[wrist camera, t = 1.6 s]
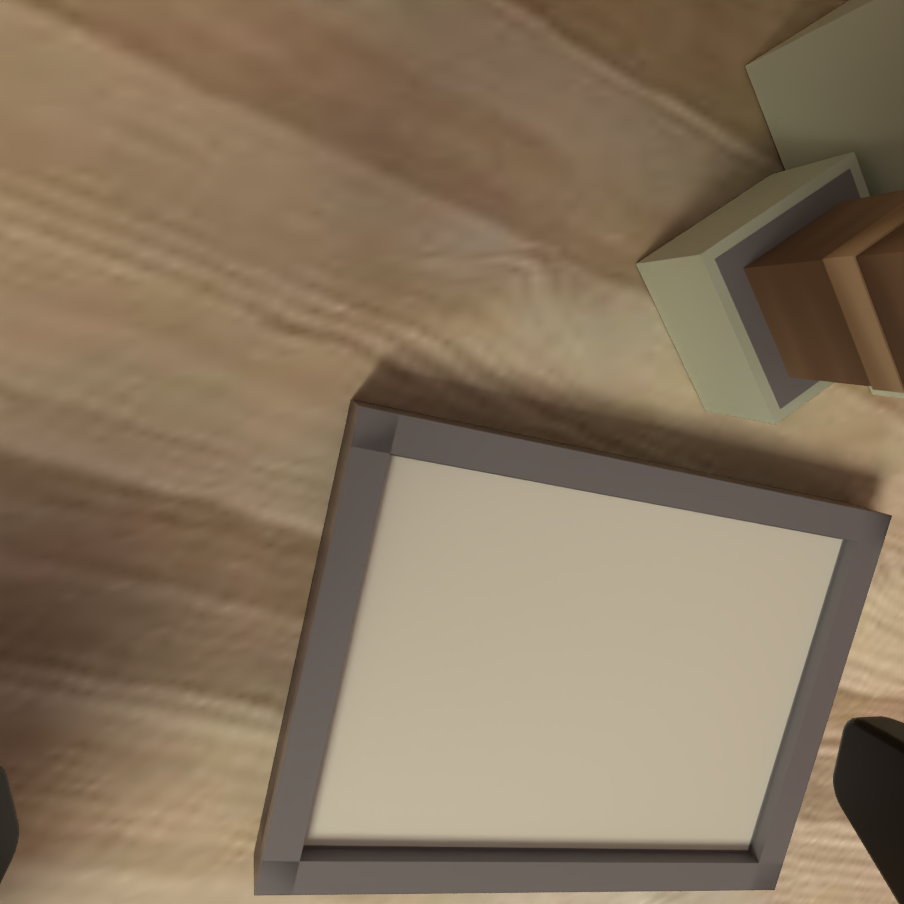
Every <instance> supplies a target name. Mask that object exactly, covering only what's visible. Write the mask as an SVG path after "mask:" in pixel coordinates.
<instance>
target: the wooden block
mask: <svg viewBox="0 0 904 904" xmlns="http://www.w3.org/2000/svg"><path fill="white" fill-rule="evenodd" d="M743 269H744V271H745V273H746V276H747V278H748V280H749V283H750V285H751V288H752V290H753V292H754V295H755V297H756V299H757V302H758V304H759V306H760V309H761V311H762V313H763V316H764V318H765V320H766V323H767V325H768V328H769V330H770V332H771V335H772V337H773V339H774V342H775V344H776V346H777V349H778V351H779V353H780V356H781V358H782V360H783V363H784V365H785V368H786V370H787V372H788V375H789V377H790V378H800V379H809V380H818V381H827V382H837V383H846V384H855V385H865V386H871V387H872V389H873V390H881V391H890V392H899V393H904V190H900V191H895V192H890V193H885V194H880V195H875V196H870V197H865V198H860V199H855V200H850V201H845V202H840V203H839V204H837V205H836V206H834V207H833V208H831V209H830V210H828V211H827V212H825V213H824V214H822V215H821V216H819V217H818V218H816V219H815V220H814V221H812V222H811V223H809V224H808V225H806V226H805V227H803V228H802V229H800V230H799V231H797V232H796V233H794V234H793V235H791V236H790V237H789V238H787V239H786V240H784V241H783V242H781V243H780V244H778V245H777V246H775V247H774V248H772V249H771V250H769V251H768V252H766V253H765V254H764V255H762V256H761V257H759V258H758V259H756V260H755V261H753V262H752V263H750V264H749V265H747V266H746V267H744V268H743Z"/></svg>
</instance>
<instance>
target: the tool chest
mask: <svg viewBox="0 0 904 904" xmlns="http://www.w3.org/2000/svg"><path fill="white" fill-rule="evenodd" d="M745 68H746V70H747V73H748V75H749V78H750V81H751V83H752V86H753V88H754V91H755V93H756V96H757V99H758V101H759V104H760V106H761V109H762V112H763V114H764V117H765V119H766V122H767V125H768V127H769V130H770V132H771V135H772V137H773V140H774V143H775V145H776V148H777V150H778V153H779V156H780V158H781V161H782V163H783V166H784V168H785V171H782V172H778V173H775V174H771V175H769V176H768V177H766V178H765V179H763V180H762V181H760V182H759V183H757V184H756V185H754V186H753V187H751V188H750V189H748V190H747V191H745V192H744V193H742V194H741V195H739V196H738V197H736V198H735V199H733V200H732V201H730V202H728V203H727V204H725V205H724V206H722V207H721V208H719V209H718V210H716V211H715V212H713V213H712V214H710V215H709V216H707V217H706V218H704V219H703V220H701V221H700V222H698V223H697V224H695V225H694V226H692V227H691V228H689V229H688V230H686V231H685V232H683V233H682V234H680V235H679V236H677V237H676V238H674V239H673V240H671V241H670V242H668V243H667V244H665V245H664V246H662V247H660V248H659V249H657V250H656V251H654V252H653V253H651V254H650V255H648V256H647V257H645V258H644V259H642V260H641V261H639V262H638V263H636V265H637V267H638V270H639V272H640V274H641V276H642V278H643V280H644V282H645V284H646V286H647V289H648V291H649V293H650V295H651V297H652V299H653V301H654V303H655V305H656V307H657V310H658V312H659V314H660V316H661V318H662V320H663V322H664V324H665V326H666V329H667V331H668V333H669V335H670V337H671V339H672V341H673V343H674V345H675V347H676V350H677V352H678V354H679V356H680V358H681V360H682V362H683V364H684V366H685V369H686V371H687V373H688V375H689V377H690V379H691V381H692V383H693V385H694V387H695V390H696V392H697V394H698V396H699V398H700V400H701V402H702V404H703V406H704V408H705V411H710V412H715V413H720V414H725V415H730V416H735V417H740V418H744V419H749V420H754V421H759V422H764V423H769V424H774V425H776V424H777V423H779V422H780V421H781V420H783V419H784V418H785V417H787V416H788V415H790V414H791V413H792V412H794V411H795V410H797V409H798V408H799V407H801V406H802V405H803V404H805V403H806V402H808V401H809V400H810V399H812V398H813V397H814V396H816V395H817V394H819V393H820V392H821V391H823V390H824V389H826V388H827V387H828V386H830V385H831V384H832V383H834V382H827V381H818V380H809V379H800V378H790V377H789V375H788V372H787V370H786V368H785V365H784V363H783V360H782V358H781V356H780V353H779V351H778V349H777V346H776V344H775V342H774V339H773V337H772V335H771V332H770V330H769V328H768V325H767V323H766V320H765V318H764V316H763V313H762V311H761V309H760V306H759V304H758V302H757V299H756V297H755V295H754V292H753V290H752V288H751V285H750V283H749V280H748V278H747V276H746V273H745V271H744V269H743V268H744V267H746V266H747V265H749V264H750V263H752V262H753V261H755V260H756V259H758V258H759V257H761V256H762V255H764V254H765V253H766V252H768V251H769V250H771V249H772V248H774V247H775V246H777V245H778V244H780V243H781V242H783V241H784V240H786V239H787V238H789V237H790V236H791V235H793V234H794V233H796V232H797V231H799V230H800V229H802V228H803V227H805V226H806V225H808V224H809V223H811V222H812V221H814V220H815V219H816V218H818V217H819V216H821V215H822V214H824V213H825V212H827V211H828V210H830V209H831V208H833V207H834V206H836V205H837V204H839V203H840V202H845V201H850V200H855V199H860V198H865V197H870V196H875V195H880V194H885V193H890V192H895V191H900V190H904V0H849V1H847V2H846V3H844V4H842V5H841V6H839V7H838V8H836V9H834V10H833V11H831V12H830V13H828V14H827V15H825V16H823V17H822V18H820V19H819V20H817V21H815V22H814V23H812V24H811V25H809V26H808V27H806V28H804V29H803V30H801V31H800V32H798V33H796V34H795V35H793V36H792V37H790V38H789V39H787V40H785V41H784V42H782V43H781V44H779V45H777V46H776V47H774V48H773V49H771V50H770V51H768V52H766V53H765V54H763V55H762V56H760V57H758V58H757V59H755V60H754V61H752V62H751V63H749V64H747V65H746V66H745ZM869 388H870V391H871V393H872V395H879V396H888V397H896V398H904V393H899V392H890V391H881V390H873V389H872V387H871V386H869Z"/></svg>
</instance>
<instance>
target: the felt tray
mask: <svg viewBox="0 0 904 904" xmlns="http://www.w3.org/2000/svg"><path fill="white" fill-rule="evenodd" d="M891 517H892V516H891V515H887V514H884V513H881V512H878V511H874V510H871V509H868V508H865V507H861V506H858V505H855V504H851V503H846V502H841V501H836V500H832V499H827V498H822V497H817V496H812V495H808V494H803V493H798V492H793V491H788V490H784V489H779V488H774V487H769V486H764V485H760V484H755V483H750V482H745V481H740V480H736V479H731V478H726V477H721V476H716V475H712V474H707V473H702V472H697V471H692V470H688V469H683V468H678V467H673V466H668V465H664V464H659V463H654V462H649V461H644V460H640V459H635V458H630V457H625V456H620V455H615V454H611V453H606V452H601V451H596V450H591V449H587V448H582V447H577V446H572V445H567V444H563V443H558V442H553V441H548V440H543V439H539V438H534V437H529V436H524V435H519V434H515V433H510V432H505V431H500V430H495V429H491V428H486V427H481V426H476V425H471V424H467V423H462V422H457V421H452V420H447V419H443V418H438V417H433V416H428V415H423V414H419V413H414V412H409V411H404V410H399V409H395V408H390V407H385V406H380V405H375V404H371V403H366V402H361V401H356V400H351V402H350V406H349V411H348V416H347V421H346V425H345V430H344V435H343V439H342V444H341V449H340V453H339V458H338V463H337V467H336V472H335V477H334V481H333V486H332V491H331V495H330V500H329V505H328V509H327V514H326V519H325V523H324V528H323V533H322V537H321V542H320V547H319V551H318V556H317V561H316V566H315V570H314V575H313V580H312V584H311V589H310V594H309V598H308V603H307V608H306V612H305V617H304V622H303V626H302V631H301V636H300V640H299V645H298V650H297V654H296V659H295V664H294V668H293V673H292V678H291V682H290V687H289V692H288V697H287V701H286V706H285V711H284V715H283V720H282V725H281V729H280V734H279V739H278V743H277V748H276V753H275V757H274V762H273V767H272V771H271V776H270V781H269V785H268V790H267V795H266V799H265V804H264V809H263V813H262V818H261V823H260V828H259V832H258V837H257V842H256V846H255V851H254V895H337V894H433V893H528V892H624V891H719V890H775V887H776V884H777V881H778V877H779V874H780V871H781V868H782V865H783V861H784V858H785V855H786V852H787V849H788V845H789V842H790V839H791V836H792V833H793V829H794V826H795V823H796V820H797V817H798V813H799V810H800V807H801V804H802V801H803V798H804V794H805V791H806V788H807V785H808V782H809V778H810V775H811V772H812V769H813V766H814V762H815V759H816V756H817V753H818V750H819V746H820V743H821V740H822V737H823V734H824V731H825V727H826V724H827V721H828V718H829V715H830V711H831V708H832V705H833V702H834V699H835V695H836V692H837V689H838V686H839V683H840V679H841V676H842V673H843V670H844V667H845V664H846V660H847V657H848V654H849V651H850V648H851V644H852V641H853V638H854V635H855V632H856V628H857V625H858V622H859V619H860V616H861V612H862V609H863V606H864V603H865V600H866V597H867V593H868V590H869V587H870V584H871V581H872V577H873V574H874V571H875V568H876V565H877V561H878V558H879V555H880V552H881V549H882V545H883V542H884V539H885V536H886V533H887V530H888V526H889V523H890V520H891Z"/></svg>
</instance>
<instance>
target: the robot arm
mask: <svg viewBox="0 0 904 904" xmlns="http://www.w3.org/2000/svg"><path fill="white" fill-rule="evenodd" d="M833 786H834V790H835V794H836V797H837V800H838V802H839V804H840V806H841V808H842V810H843V811H844V813H845V815H846V816H847V818H848V820H849V821H850V823H851V825H852V826H853V828H854V830H855V831H856V833H857V835H858V836H859V838H860V840H861V841H862V843H863V845H864V846H865V848H866V850H867V851H868V853H869V855H870V856H871V858H872V860H873V861H874V863H875V865H876V866H877V868H878V870H879V871H880V873H881V875H882V876H883V878H884V880H885V881H886V883H887V885H888V886H889V888H890V890H891V891H892V893H893V895H894V896H895V898H896V900H897V901H898V903H899V904H904V723H903V722H900V721H897V720H894V719H891V718H887V717H882V716H878V717H859V718H852V719H851V720H849V721H848V722H847V723H846V724H845V726H844V729H843V733H842V738H841V742H840V747H839V751H838V756H837V760H836V765H835V769H834V774H833ZM18 837H19V824H18V819H17V815H16V811H15V807H14V803H13V799H12V795H11V791H10V787H9V783H8V779H7V775H6V773H5V770H4V769H3V768H2V766H0V883H1V881H2V879H3V877H4V875H5V873H6V871H7V868H8V866H9V864H10V862H11V860H12V858H13V855H14V853H15V850H16V847H17V843H18Z"/></svg>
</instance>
